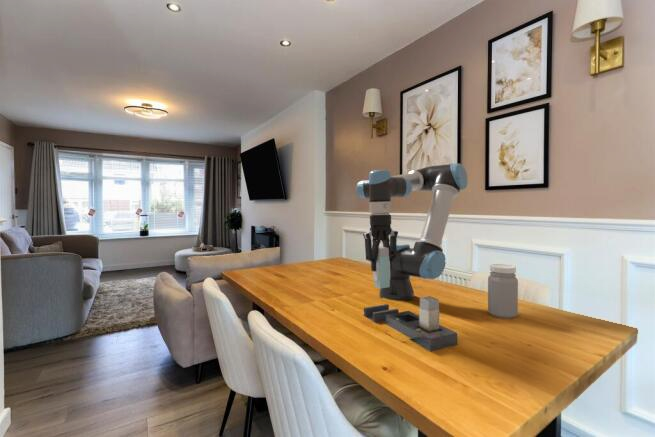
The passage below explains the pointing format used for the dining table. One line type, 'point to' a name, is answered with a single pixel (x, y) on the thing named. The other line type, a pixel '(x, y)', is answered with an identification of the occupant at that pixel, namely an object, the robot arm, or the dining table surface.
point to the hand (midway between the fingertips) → (381, 279)
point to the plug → (383, 268)
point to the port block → (423, 326)
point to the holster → (378, 312)
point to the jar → (503, 291)
